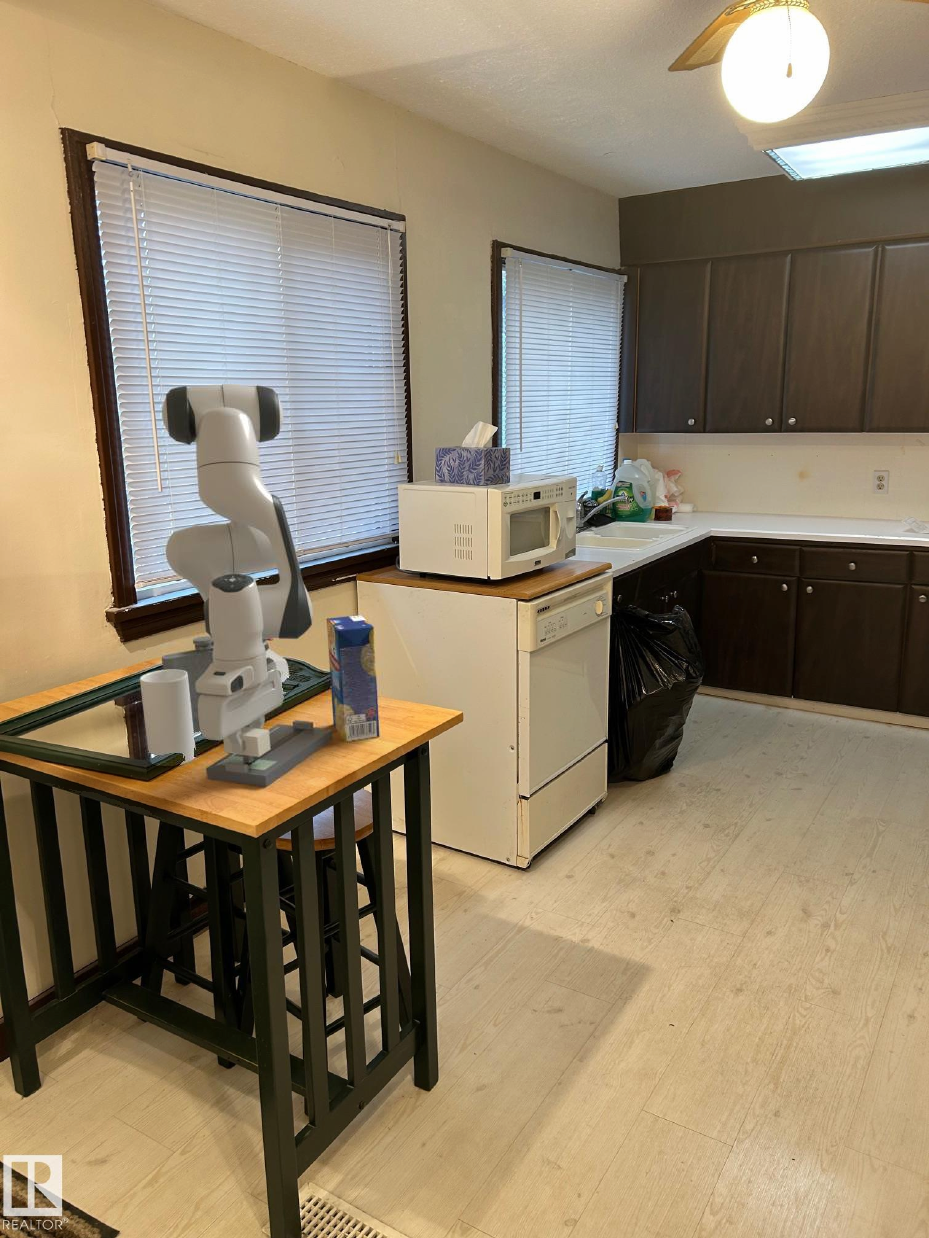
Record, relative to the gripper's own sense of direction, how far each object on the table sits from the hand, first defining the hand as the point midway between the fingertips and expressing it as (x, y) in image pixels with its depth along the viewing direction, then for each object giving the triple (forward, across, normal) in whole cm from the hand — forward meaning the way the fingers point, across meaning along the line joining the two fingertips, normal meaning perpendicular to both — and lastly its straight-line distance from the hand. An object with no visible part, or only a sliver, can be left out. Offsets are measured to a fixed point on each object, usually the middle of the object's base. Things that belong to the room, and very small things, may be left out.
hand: (247, 746), depth 156 cm
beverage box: (+5, -25, +8) cm, 27 cm away
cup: (+5, -2, -18) cm, 19 cm away
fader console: (+5, -8, 0) cm, 9 cm away
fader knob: (+3, 0, 0) cm, 3 cm away
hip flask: (+5, -14, -18) cm, 24 cm away
